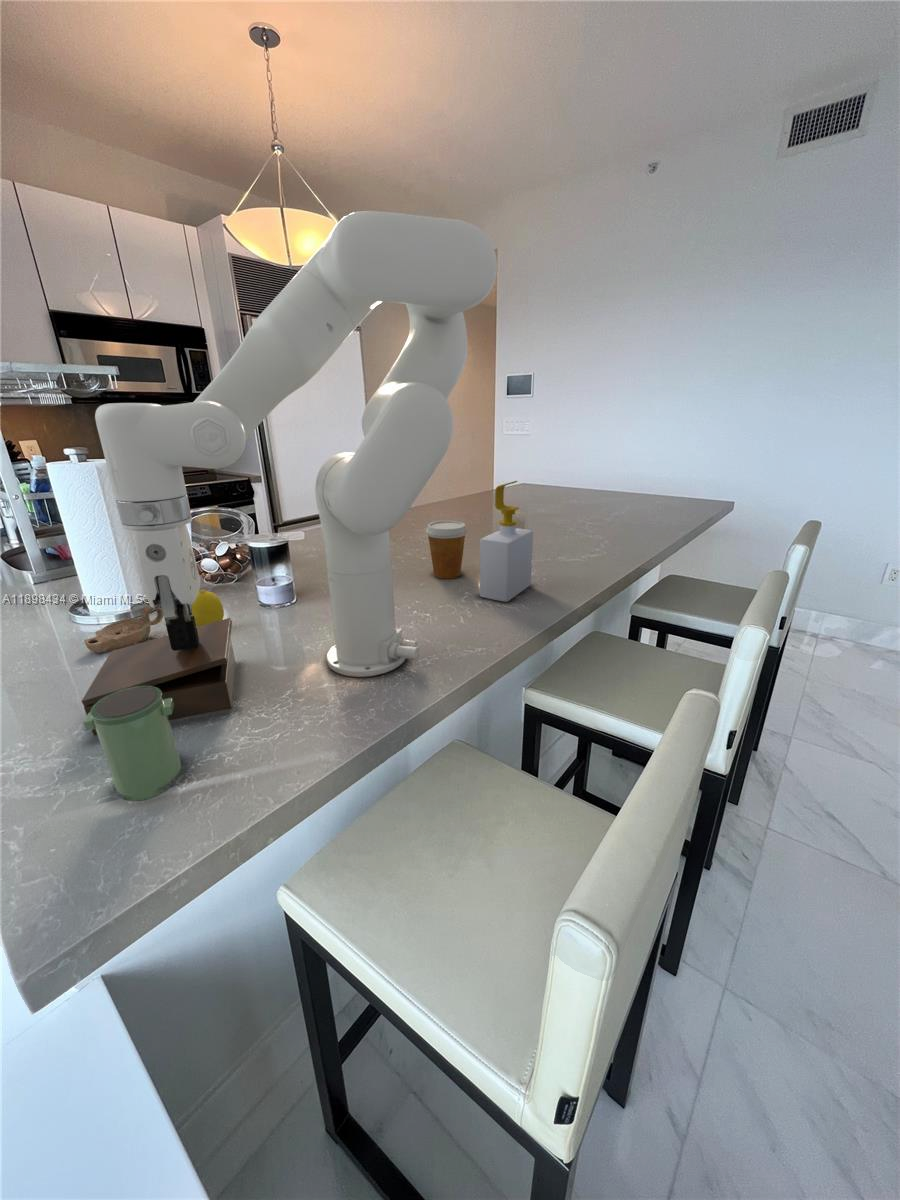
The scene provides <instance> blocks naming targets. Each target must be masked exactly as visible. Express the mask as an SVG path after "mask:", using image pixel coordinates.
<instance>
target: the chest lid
mask: <svg viewBox="0 0 900 1200" xmlns="http://www.w3.org/2000/svg"><path fill="white" fill-rule="evenodd" d="M196 627H197V626H196ZM232 627H233V620H232V618H231V617H228V618H223V620H220V621H217V622H213V623H210V624H206V625H203V626H199V627H197V632H198V637H199V643H198V646H197V647H196V648H190V649H183V650H177V651H174V650H172V649H171V645H170V640H169V636H168V634H167V635H164V636H161V637H156V638H154V639H150V640H145V641H143V642H141V643H136V644H133V645H130V646H126V647H121V648H117V649H114V650H110V652H109V654H108V656H107V657H106V659H105V661H104V663H102V665H101V667H100V669H99V670H98V673H97V674H96V676H95V677H94V680H93V681H92V683H91V684H90V685H89V688H88V689H87V691H86V692H85V695H84V696H83V698H82V699H81V703H82V705H83V707H84V706H87V705H91V704H94V703H97V702H98V701H99V700H101V699H102V698H104V697H106V696H108V695H110V694H112V693H114V692H117V691H120V690H123V689H126V688H131V687H136V686H153V685H156V684H160V683H163V682H166V681H169V680H173V679H176V678H179V677H183V676H186V675H189V674H192V673H196V672H199V671H202V670H206V669H209V668H212V667H215V666H219V665H222V664H225V663H228V654H229V645H230V639H231V635H232Z"/></svg>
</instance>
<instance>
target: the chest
mask: <svg viewBox="0 0 900 1200" xmlns="http://www.w3.org/2000/svg"><path fill="white" fill-rule="evenodd" d="M235 669H236V658H235V653H234V649H233V643H232V638H230V645H229V654H228V663H225V664H222V665H219V666H215V667H212V668H209V669H206V670H202V671H199V672H196V673H192V674H189V675H186V676H183V677H179V678H176V679H173V680H169V681H166V682H163V683H160V684H156V685H153V687H157V688H159V689H160V690H161V691H162V694H163V699H168V698H172V699H173V703H174V708H173V711H172V714H171V715H168V717H169V721H174V720H180V719H185V718H189V717H194V716H200V715H205V714H209V713H214V712H215V713H216V712H221V711H225V710H230V709H232V708H233V695H234V694H233V693H234V684H235V683H234V682H235ZM95 704H96V703H94V704H91V705H87V706H84V705H83V709H84V712H85V714H86V716H87V715H88V713H90V711H91V708H92V707H93V706H94V705H95ZM91 732H92V735H93V736H98V735H97V732H96V729H93V730H91Z"/></svg>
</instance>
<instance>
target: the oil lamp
mask: <svg viewBox="0 0 900 1200" xmlns="http://www.w3.org/2000/svg"><path fill="white" fill-rule="evenodd" d="M153 610H155V611H156V613H157V614H156V617H155V618H154V619H153V620H151V618H150V612H151V611H153ZM163 619H164V615H163V612H162V608H161V607H160V606H159V607H158V609H154V608H152V607H151V606H150V605H147V606H146V607H145V608H143V609H142V613H141V617H133V618H128V619H127V618H126V619H121V620H117V621H114V622H112V623H110V624H107V625H105V626H104V627H102V628H101V629H100V630H99V629H98V630H96V631H95V632H94V634H95V636H93V637H91V638H88V639H84V640H83V642H84V645H85V647H86V648H87V649H88V650H89V651H91V652H93V653H96V654H102V653H106V652H109V651H110V652H111V651H114V650H118V649H121V648H125V647H128V646H132V645H135V644H139V643H142V642H145V641H147V639H148V637H150V634H151V626H155V625H158V624H159V623H160V622H161V621H162V620H163Z"/></svg>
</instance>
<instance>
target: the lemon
mask: <svg viewBox="0 0 900 1200" xmlns="http://www.w3.org/2000/svg"><path fill="white" fill-rule="evenodd" d="M191 607H192V615H191V616H194V618H195V623H196V627H199V626H203V625H206V624H210V623H213V622H217V621H220V620H224V616H225V611H224V606H223V603H222V601H221V599H220V598H219V596H218V595H216V594H215V593H214V592H211V591H208V590H205V589H199V592H198V595H197V598H196V600H195V602H194V603H193V604H192V605H191Z"/></svg>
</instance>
